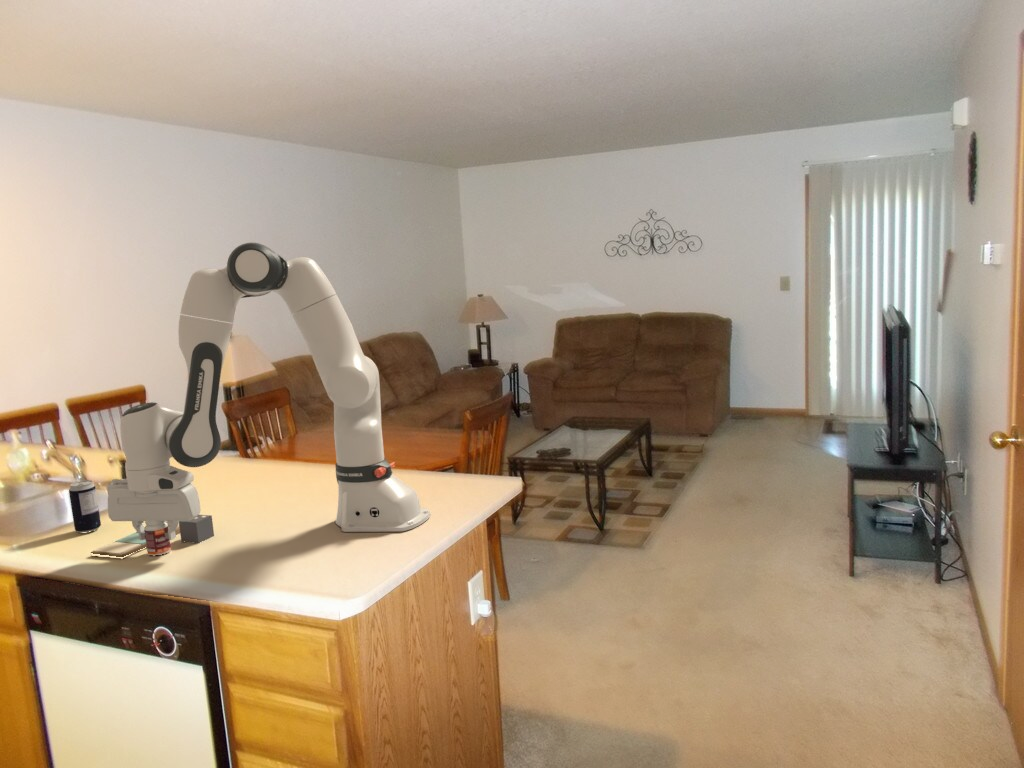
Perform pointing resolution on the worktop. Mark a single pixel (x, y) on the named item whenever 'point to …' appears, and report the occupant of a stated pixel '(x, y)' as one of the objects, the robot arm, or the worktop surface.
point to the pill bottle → (156, 537)
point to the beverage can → (84, 506)
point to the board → (125, 545)
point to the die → (197, 529)
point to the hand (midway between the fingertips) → (157, 539)
